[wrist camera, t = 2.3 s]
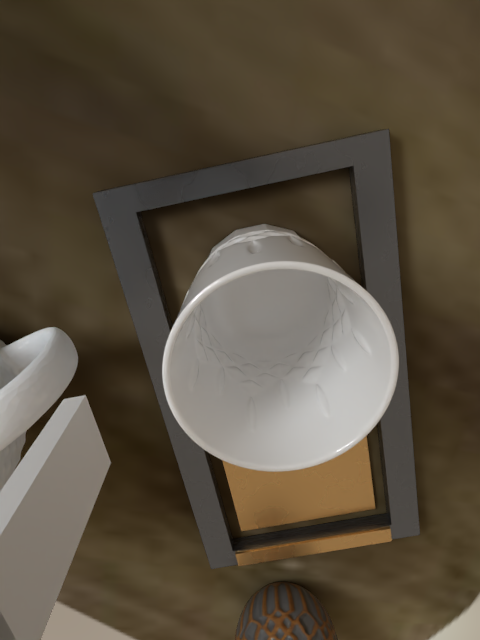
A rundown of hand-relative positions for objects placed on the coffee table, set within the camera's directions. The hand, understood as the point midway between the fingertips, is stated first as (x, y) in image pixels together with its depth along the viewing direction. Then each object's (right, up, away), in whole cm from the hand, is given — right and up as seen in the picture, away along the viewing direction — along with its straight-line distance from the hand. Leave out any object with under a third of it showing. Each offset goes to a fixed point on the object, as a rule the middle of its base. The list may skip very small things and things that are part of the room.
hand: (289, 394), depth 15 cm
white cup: (0, +4, +10) cm, 11 cm away
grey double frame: (+1, -1, +12) cm, 12 cm away
